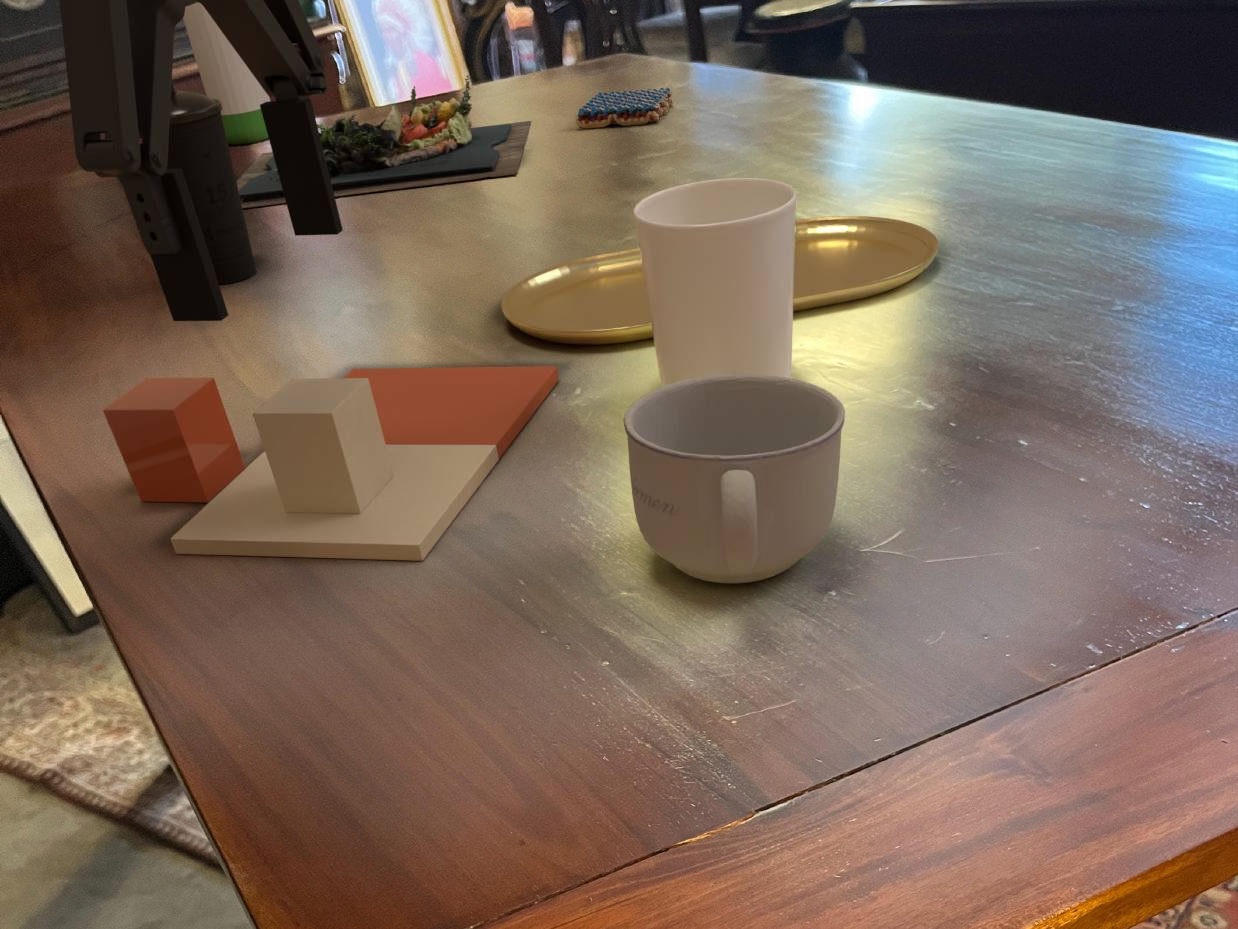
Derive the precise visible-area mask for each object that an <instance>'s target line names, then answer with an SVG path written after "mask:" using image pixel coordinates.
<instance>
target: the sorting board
mask: <svg viewBox="0 0 1238 929" xmlns="http://www.w3.org/2000/svg"><path fill="white" fill-rule="evenodd" d="M343 378H368V379H369V383H370V387H371V391H372V395H373V398H374V402H375V406H376V410H377V414H378V417H379V421H380V425H381V429H382V433H383V436H384V440H385V444H386V448H387V452H388V455H389V459H390V463H391V467H392V471H393V475H394V476H393V477H392V478H391V480H390V481H389V482H388V483H387V484H386V485H385V486H384V488H383V489H382V490H381V491H380V492H379V493H378V495H377V496H376V497H375V498H374V499H373V500H372V501H371V503H370V504H369V505H368V506H367V507H366V508H365V509H364V511H363V512H362V513H361V514H353V513H298V512H285V509H284V506H283V503H282V500H281V497H280V494H279V491H278V488H277V485H276V482H275V479H274V476H273V473H272V470H271V467H270V464H269V461H268V458H267V455H266V452H265V450H264V451H263V452H262V453H260V455H258V456H257V457H256V458H255V459H254V460H253V461H251V463H250V464H249V465H248V466H247V467H245V469H244V470H243V471H242V472H241V473H239V474H238V475H237V476H236V477H235V478H234V479H233V480H232V481H231V482H230V483H229V484H228V485H227V486H225V487H224V488H223V489H222V490H221V491H220V492H219V493H218V494H217V495H216V496H215V497H214V498H213V499H212V500H210V501H209V502H208V503H206V505H205V506H204V507H202V508H201V510H199V511H198V512H197V513H196V514H195V515H194V516H193V517H192V518H191V519H189V520H188V521H187V523H185V524H184V525H183V526H182V527H181V528H180V529H179V530H178V531H177V532H176V533H175V534H173V535H172V536H171V537H170V539H169V540H170V541H171V545H172V547H173V549H174V552H175V554H177V555H208V556H211V555H213V556H240V557H241V556H243V557H245V556H247V557H280V558H281V557H282V558H314V559H316V558H317V559H345V560H346V559H349V560H352V559H353V560H384V561H385V560H386V561H387V560H388V561H419V562H421V561H422V562H423V561H424V560H425V559H426V557H427V556H428V554H430V552H431V550H432V549H433V548H434V546H435V545H436V544H437V543H438V542H439V540H440V538H441V537H443V534H444V533H445V532H446V530H447V529H448V528H449V527H450V525H451V524H452V523H453V521H454V520H455V518H456V517H457V516H458V515H459V513H460V512H462V510H463V508H464V506H465V505H466V504H467V503H468V501H469V500H470V499H471V498H472V496H473V495H474V493H475V492H476V491H477V489H478V488H479V487H480V486H481V485H482V483H483V482H484V481H485V479H486V478H487V476H488V475H489V473H490V472H491V471H492V469H494V467H495V465H496V464H497V463H498V462H499V461H500V459H501V457H502V456H503V455H504V453H505V452H506V451H507V449H508V448H509V447H510V445H511V444H512V443H513V441H514V440H515V439H516V437H517V436H518V435H519V434H520V432H521V431H522V429H523V428H524V427H525V426H526V425H527V423H528V421H529V420H530V419H531V417H533V415H534V414H535V412H536V411H537V410H538V409H539V407H540V405H541V404H542V403H543V402H544V400H545V399H546V398H547V396H548V395H549V393H550V392H551V391H552V389H554V387H555V386H556V384H557V383H558V382H559V380H560V377H559V371H558V366H557V365H534V366H533V365H532V366H531V365H530V366H529V365H528V366H527V365H525V366H522V365H521V366H471V367H470V366H467V367H465V366H461V367H460V366H459V367H457V366H453V367H397V368H396V367H394V368H393V367H390V368H389V367H388V368H385V367H384V368H353V369H351V370H350V371H349V372H348V373H347V374H346V375H345V376H343Z"/></svg>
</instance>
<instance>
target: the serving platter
mask: <svg viewBox="0 0 1238 929" xmlns="http://www.w3.org/2000/svg"><path fill="white" fill-rule="evenodd" d="M938 251H939V241H938V239H937V236H935V235H934V233H933V232H931V231H930V230H929V229H927V228H925V227H924V226H920V225H918V224H916V223H912V222H908V221H904V220H901V219H896V218H895V219H894V218H888V217H880V216H867V215H866V216H865V215H835V216H834V215H833V216H831V215H830V216H818V217H817V216H816V217H807V218H798V219H796V224H795V260H794V297H793V312H797V311H798V312H799V311H803V310H808V309H813V308H820V307H824V306H830V305H836V304H840V303H847V302H851V301H857V300H862V299H865V298H869V297H873V296H876V295H880V294H882V293H885V292H888V291H891V290H893V289H896V288H898V287H900V286H902V285H905V284H906V283H908V282H909V281H911V280H913V279H915V278H916V277H917V276H919V275H920V274H921V273H923V272H924V271H925V270H926V269H927V268H928V267H929V266H930V265H931V263H932V262H933V261H934V259H935V258H936V256H937V253H938ZM500 308H501V311H502V314H503V316H504V317H505V318H506V319H507V321H509V322H510V324H511V325H512V326H514V327H515V328H517V329H518V330H519V331H521V332H523V333H525V334H527V335H529V336H532V337H534V338H538V339H541V340H544V341H548V342H553V343H560V344H569V345H586V346H587V345H588V346H589V345H590V346H591V345H593V346H594V345H597V346H598V345H612V344H614V345H615V344H622V343H630V342H636V341H642V340H648V339H654V338H653V331H652V325H651V319H650V312H649V306H648V300H647V293H646V287H645V281H644V274H643V268H642V261H641V255H640V249H639V247H636V248H630V249H624V250H620V251H613V252H608V253H603V254H602V253H601V254H597V255H592V256H587V257H583V258H578V259H574V260H570V261H566V262H563V263H560V264H556V265H553V266H551V267H548V268H545V269H543V270H540V271H538V272H535V273H533V274H531V275H529V276H527V277H525V278H523V279H522V280H520V281H518V282H517V283H516V284H515V285H513V286H511V287H510V289H508V290H507V291H506V293H505V294H504V296H503V297H502V299H501V306H500Z"/></svg>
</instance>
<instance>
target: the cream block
mask: <svg viewBox="0 0 1238 929" xmlns="http://www.w3.org/2000/svg"><path fill="white" fill-rule="evenodd" d="M252 417H253V419H254V423H255V426H256V429H257V431H258V435H259V437H260V440H261V443H262V445H263V449H264V451H265V452H266V455H267V458H268V461H269V464H270V467H271V470H272V473H273V476H274V479H275V482H276V485H277V488H278V491H279V494H280V497H281V500H282V503H283V506H284V509H285V512H298V513H353V514H361V513H362V512H363V511H364V509H365V508H366V507H367V506H368V505H369V504H370V503H371V501H372V500H373V499H374V498H375V497H376V496H377V495H378V493H379V492H380V491H381V490H382V489H383V488H384V486H385V485H386V484H387V483H388V482H389V481H390V480H391V478H392V477H393V476H394V475H393V471H392V467H391V463H390V459H389V455H388V452H387V448H386V444H385V440H384V436H383V433H382V429H381V425H380V421H379V417H378V414H377V410H376V406H375V402H374V398H373V395H372V391H371V387H370V383H369V379H368V378H344V377H343V378H342V377H341V378H334V377H333V378H291V380H289V381H288V382H287V383H286V384H285V385H283V386H282V387H281V388H280V389H279V390H278V391H277V392H275V393H274V394H273V395H272V396H270V398H268V399H267V400H266V401H264V403H263V404H262V405H261V406H259V407H258V408H257V409H256V410H255V411H253V412H252Z"/></svg>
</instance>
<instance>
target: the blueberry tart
mask: <svg viewBox="0 0 1238 929" xmlns="http://www.w3.org/2000/svg"><path fill="white" fill-rule="evenodd" d="M672 96H673V91H672V89H670V87H666V88H665V90H664V87H660V88H659V89H658V90H657V89H656V88H653V89H652V90H651V88H648V89H647V90H644V89H640V91H639V89H635V90H634V91H631V90H628V91H626V90H623V91H621V92H619V91H615V93H614V91H610V93H607V92H603V93H602V92H601V91H600V92H598V93H597V94H595V95H594V96H593V97H592V98H591V99H589V100H588V102H586V103H585V104H584V105H583V106H582V107H581V108H578V111H577V118H576V119H575V120H574V123H575V124H576V125H577V126H578V127H580V128H583V129H595V128H596V129H597V128H605V127H608V126H609V125H611V124H612V125H620V126H622V127H623V126H624V127H625V126H636V125H637V126H639V125H645V124H647V123H648V122H659V120H660V117H663V115H666V114H669V110H670V107H673V106H674V99H673V98H672Z"/></svg>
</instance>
